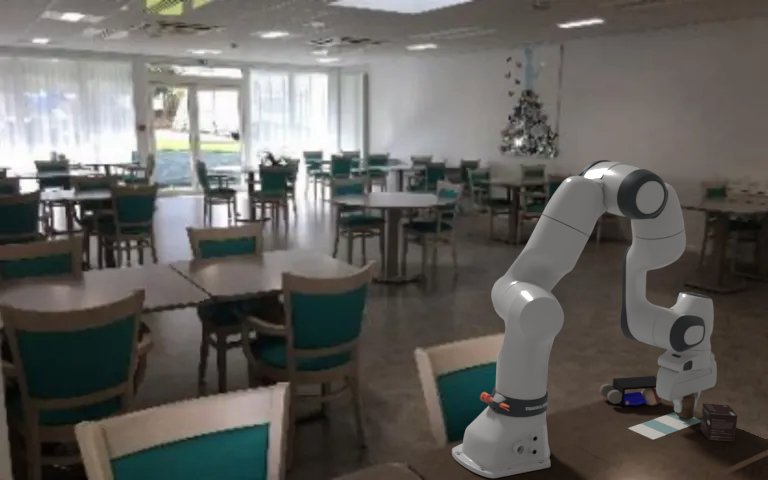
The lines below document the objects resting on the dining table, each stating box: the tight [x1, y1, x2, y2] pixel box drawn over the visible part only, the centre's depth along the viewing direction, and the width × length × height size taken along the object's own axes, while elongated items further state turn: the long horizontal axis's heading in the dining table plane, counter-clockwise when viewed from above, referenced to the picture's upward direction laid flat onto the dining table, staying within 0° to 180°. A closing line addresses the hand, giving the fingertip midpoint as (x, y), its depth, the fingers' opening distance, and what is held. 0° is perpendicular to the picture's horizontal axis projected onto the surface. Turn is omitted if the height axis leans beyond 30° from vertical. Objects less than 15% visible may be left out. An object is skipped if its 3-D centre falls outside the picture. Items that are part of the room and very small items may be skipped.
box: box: [699, 403, 738, 442], centre depth 157 cm, size 6×6×7 cm
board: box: [627, 411, 701, 440], centre depth 163 cm, size 20×7×1 cm, turn 123°
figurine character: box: [599, 375, 662, 407], centre depth 175 cm, size 7×8×15 cm
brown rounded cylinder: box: [676, 393, 695, 418], centre depth 166 cm, size 4×4×8 cm
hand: (685, 409), depth 166 cm, fingers closed on brown rounded cylinder, 4 cm apart
